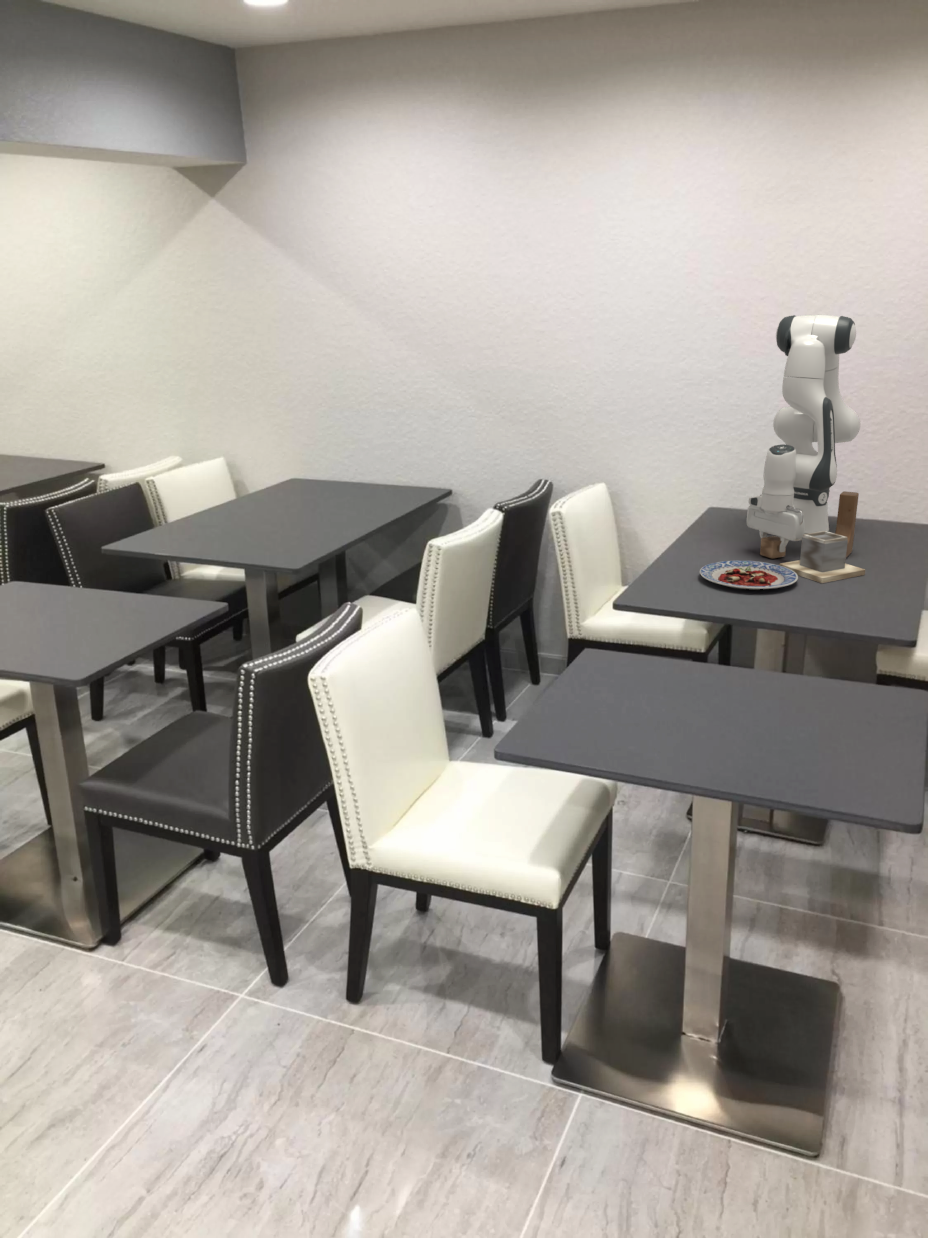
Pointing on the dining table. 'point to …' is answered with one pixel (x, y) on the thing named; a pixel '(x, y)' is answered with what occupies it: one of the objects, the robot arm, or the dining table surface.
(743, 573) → the ceramic plate
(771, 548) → the walnut cube
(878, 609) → the dining table surface
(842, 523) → the wooden block
